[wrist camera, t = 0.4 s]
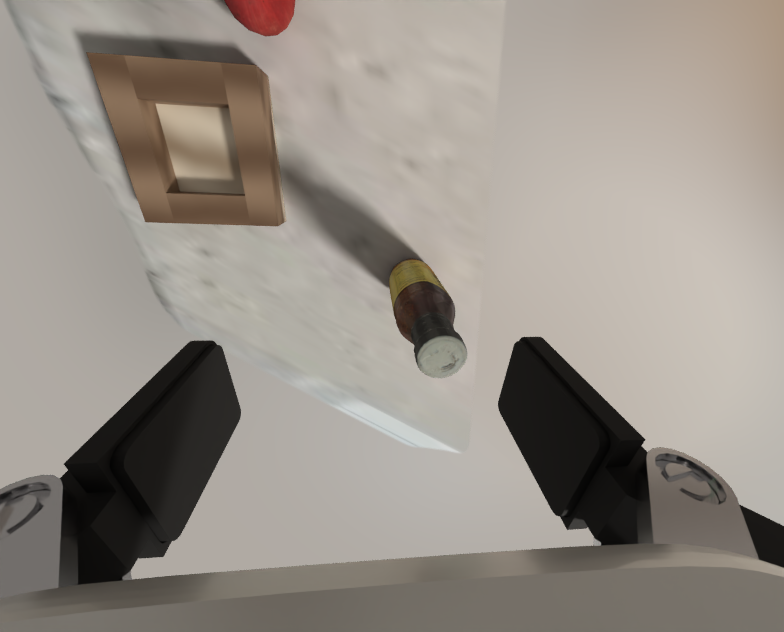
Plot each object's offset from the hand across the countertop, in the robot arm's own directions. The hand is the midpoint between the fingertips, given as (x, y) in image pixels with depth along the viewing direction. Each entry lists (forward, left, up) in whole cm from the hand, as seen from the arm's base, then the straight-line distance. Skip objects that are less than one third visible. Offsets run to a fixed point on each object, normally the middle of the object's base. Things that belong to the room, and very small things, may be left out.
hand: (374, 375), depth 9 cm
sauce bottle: (+7, +6, -30) cm, 31 cm away
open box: (-7, -17, -30) cm, 35 cm away
